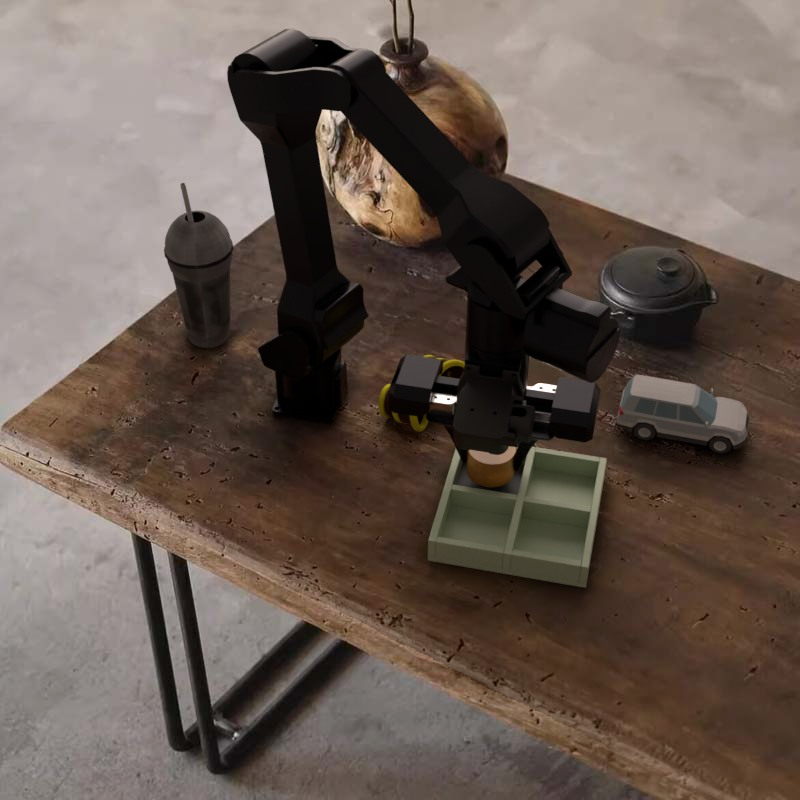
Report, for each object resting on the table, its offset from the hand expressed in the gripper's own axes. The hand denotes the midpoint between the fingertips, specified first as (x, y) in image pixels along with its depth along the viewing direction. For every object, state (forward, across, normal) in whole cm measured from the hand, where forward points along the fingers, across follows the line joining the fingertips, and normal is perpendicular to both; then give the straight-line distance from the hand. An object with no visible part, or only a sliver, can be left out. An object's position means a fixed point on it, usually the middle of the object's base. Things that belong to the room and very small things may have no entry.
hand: (490, 463), depth 126 cm
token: (+1, 0, 0) cm, 1 cm away
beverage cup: (+3, -34, +16) cm, 38 cm away
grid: (+3, +4, -4) cm, 6 cm away
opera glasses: (+3, -9, +10) cm, 14 cm away
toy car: (+3, +18, +12) cm, 22 cm away
